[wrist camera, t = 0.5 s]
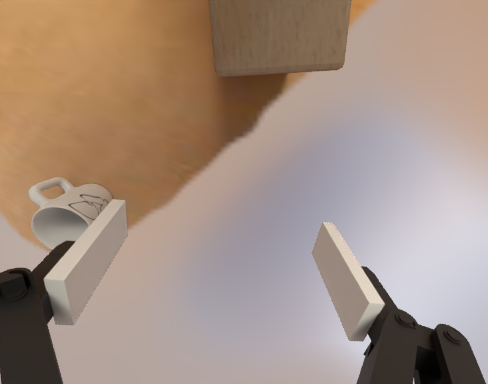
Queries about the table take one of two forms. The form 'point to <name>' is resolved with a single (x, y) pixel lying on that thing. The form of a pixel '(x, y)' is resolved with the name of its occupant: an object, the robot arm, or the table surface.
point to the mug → (66, 210)
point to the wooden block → (278, 36)
